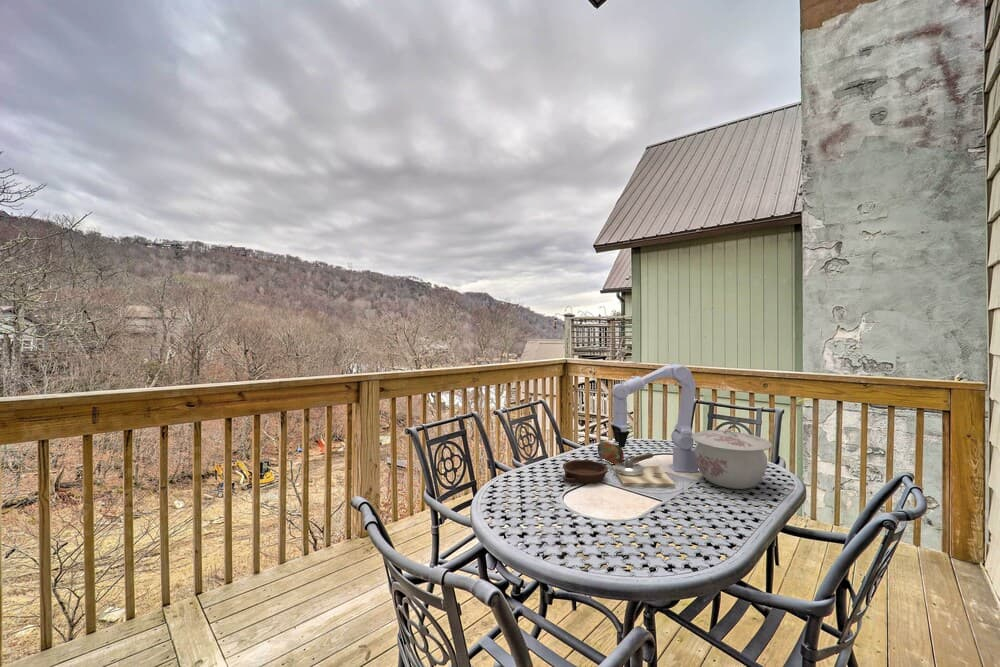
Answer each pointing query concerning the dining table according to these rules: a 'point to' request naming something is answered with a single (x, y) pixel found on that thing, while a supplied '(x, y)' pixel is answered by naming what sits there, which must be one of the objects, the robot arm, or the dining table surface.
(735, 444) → the chamber pot
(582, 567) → the dining table surface
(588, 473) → the dish
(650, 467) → the record player
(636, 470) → the metal disc with handle
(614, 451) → the tin
